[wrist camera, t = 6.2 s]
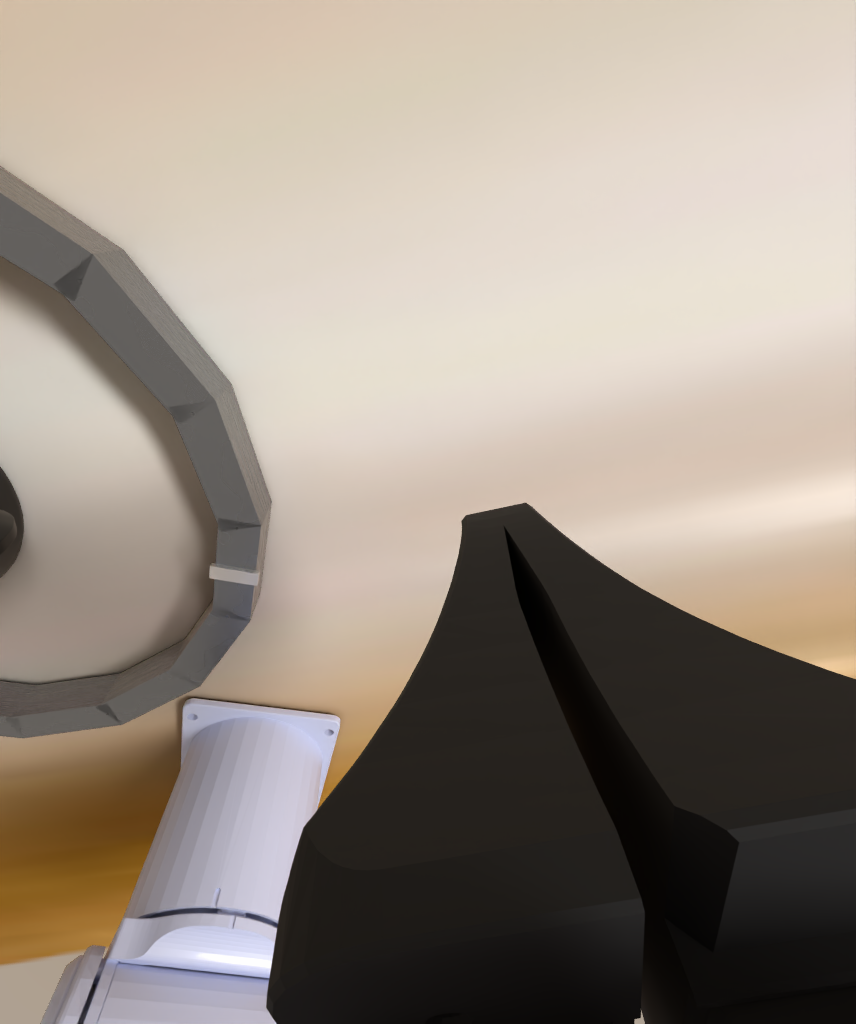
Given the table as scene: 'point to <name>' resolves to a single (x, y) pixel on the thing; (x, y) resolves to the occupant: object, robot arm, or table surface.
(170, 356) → the ring
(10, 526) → the mug
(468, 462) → the table surface
